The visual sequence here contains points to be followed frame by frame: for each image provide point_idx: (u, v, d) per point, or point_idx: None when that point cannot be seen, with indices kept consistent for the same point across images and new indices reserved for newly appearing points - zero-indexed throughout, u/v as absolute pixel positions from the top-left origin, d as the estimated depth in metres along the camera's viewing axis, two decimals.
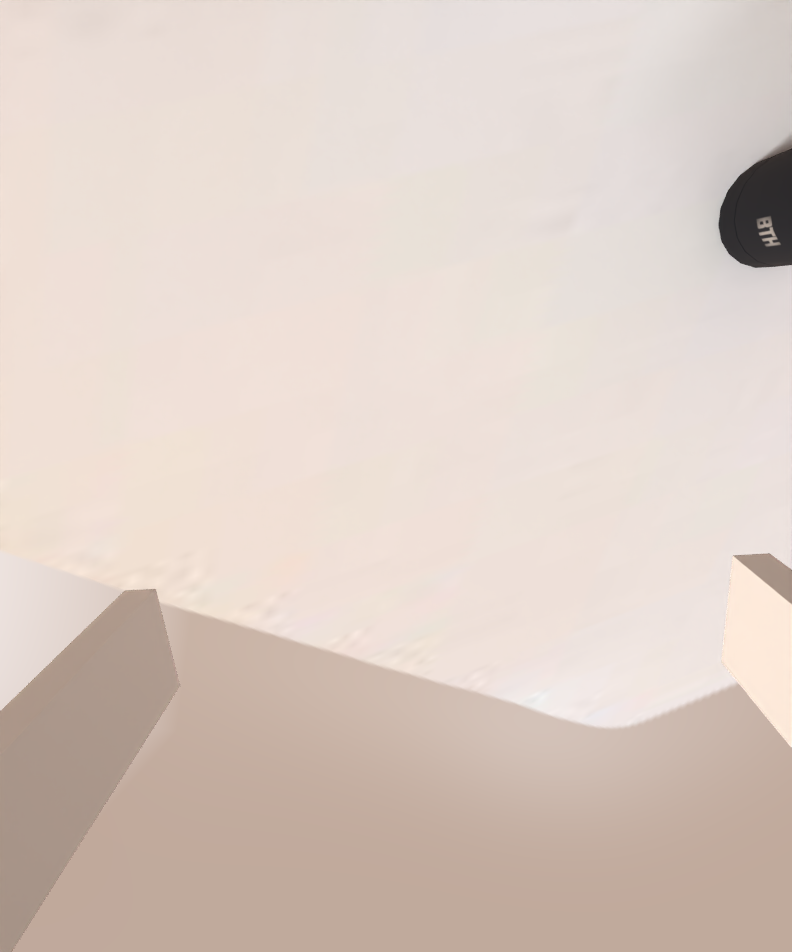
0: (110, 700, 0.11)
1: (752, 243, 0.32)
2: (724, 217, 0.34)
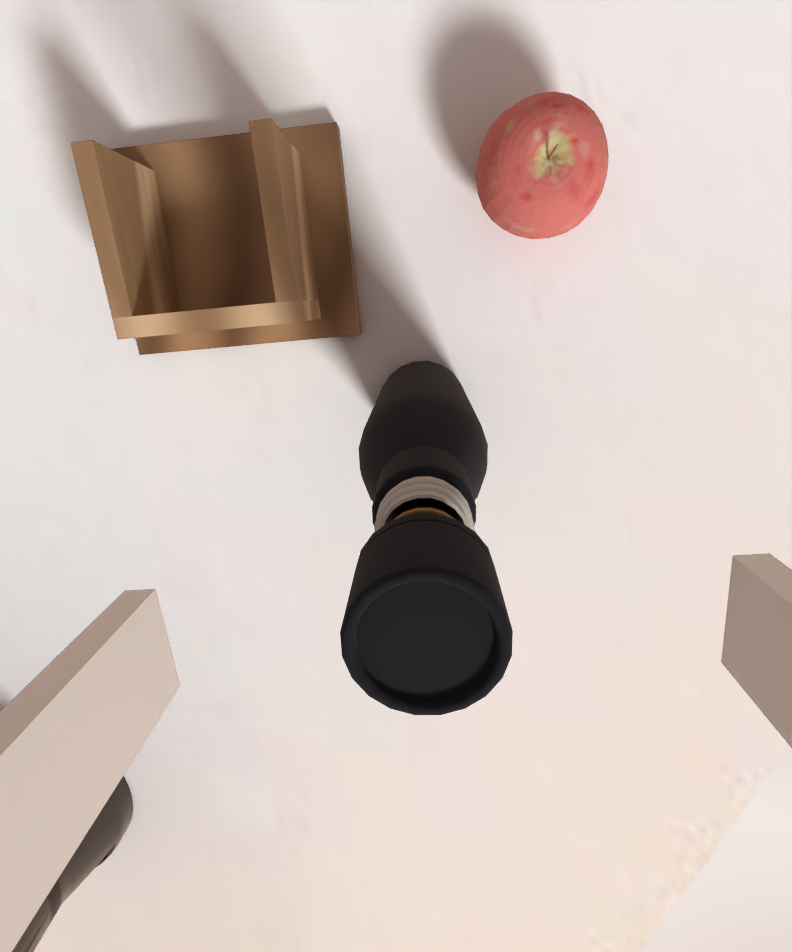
0: (110, 700, 0.11)
1: None
2: None
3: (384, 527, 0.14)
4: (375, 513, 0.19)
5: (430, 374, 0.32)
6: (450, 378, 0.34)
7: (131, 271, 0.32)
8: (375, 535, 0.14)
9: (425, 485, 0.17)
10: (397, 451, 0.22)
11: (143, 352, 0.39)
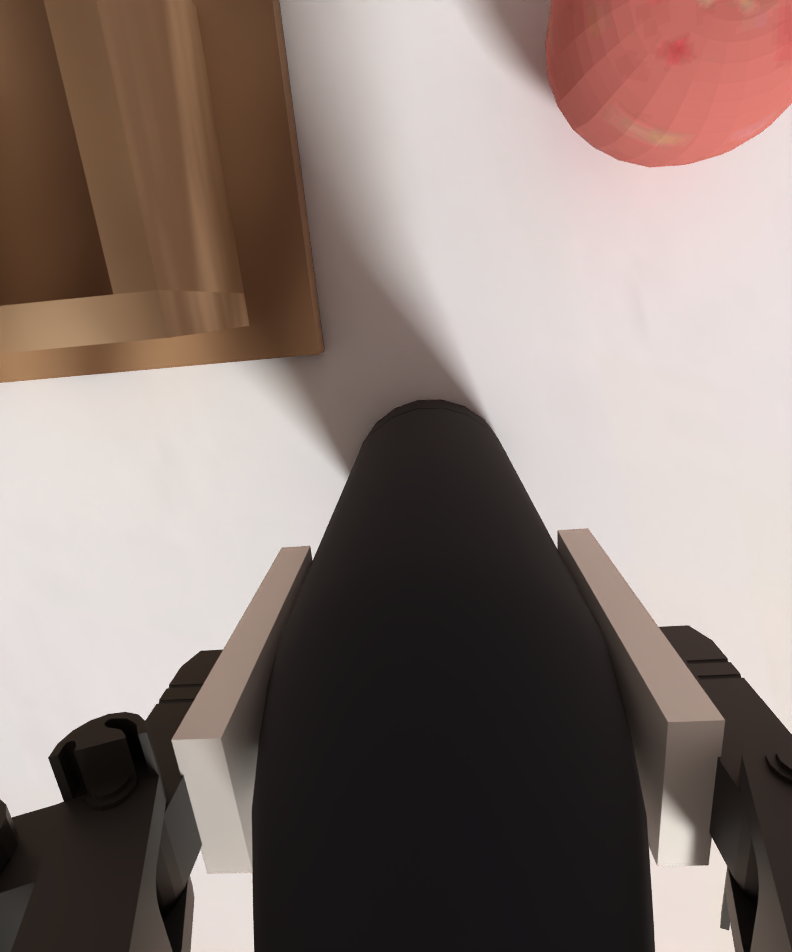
0: None
1: None
2: None
3: None
4: None
5: (451, 445, 0.15)
6: (488, 444, 0.18)
7: None
8: None
9: None
10: (338, 951, 0.05)
11: None
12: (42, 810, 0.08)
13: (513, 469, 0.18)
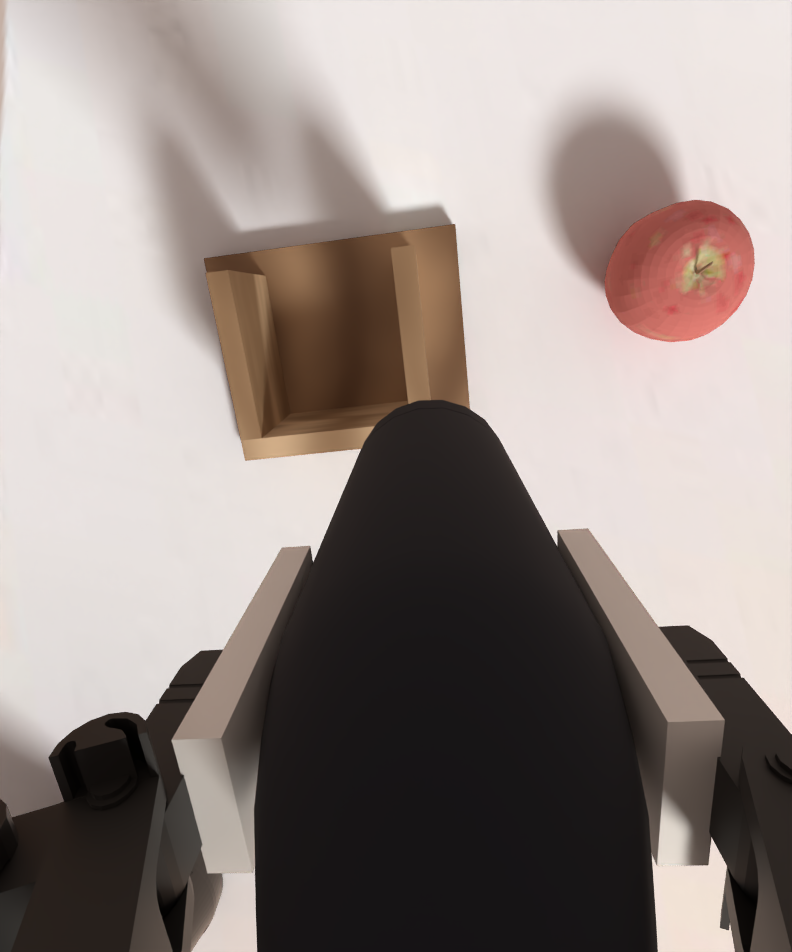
0: None
1: None
2: None
3: None
4: None
5: (452, 445, 0.15)
6: (489, 444, 0.18)
7: (258, 391, 0.31)
8: None
9: None
10: (342, 951, 0.05)
11: None
12: (42, 809, 0.08)
13: (514, 469, 0.18)
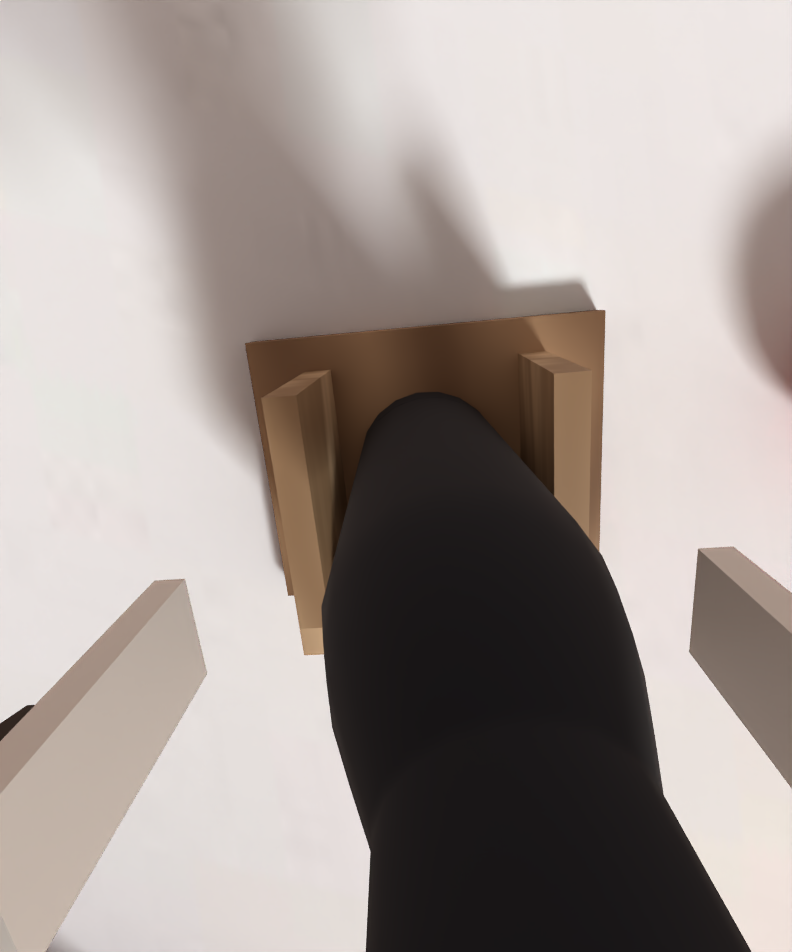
0: (146, 685, 0.11)
1: None
2: None
3: None
4: None
5: (457, 422, 0.18)
6: (486, 425, 0.20)
7: (326, 556, 0.21)
8: None
9: None
10: (434, 726, 0.07)
11: (293, 593, 0.28)
12: None
13: None
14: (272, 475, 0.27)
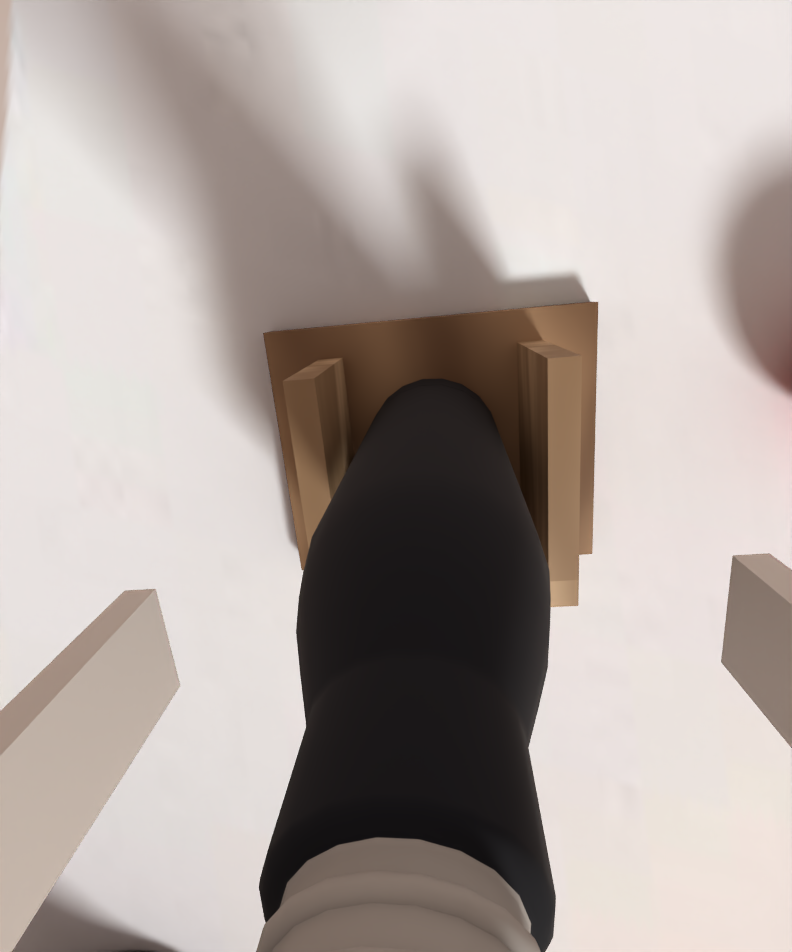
0: (110, 700, 0.11)
1: None
2: None
3: None
4: (265, 906, 0.07)
5: (443, 411, 0.19)
6: (476, 413, 0.22)
7: None
8: None
9: None
10: (350, 656, 0.09)
11: None
12: None
13: (497, 433, 0.22)
14: (287, 456, 0.28)
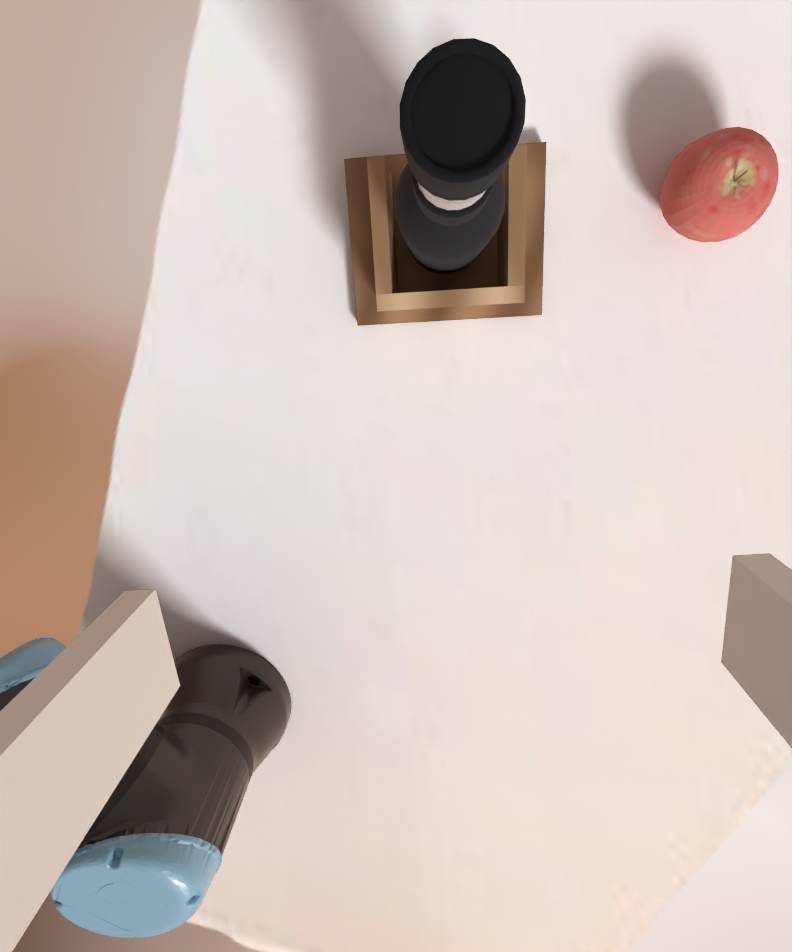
0: (110, 700, 0.11)
1: (469, 262, 0.43)
2: (446, 273, 0.45)
3: None
4: None
5: None
6: None
7: (391, 258, 0.40)
8: None
9: None
10: None
11: (361, 323, 0.48)
12: None
13: None
14: (353, 243, 0.46)
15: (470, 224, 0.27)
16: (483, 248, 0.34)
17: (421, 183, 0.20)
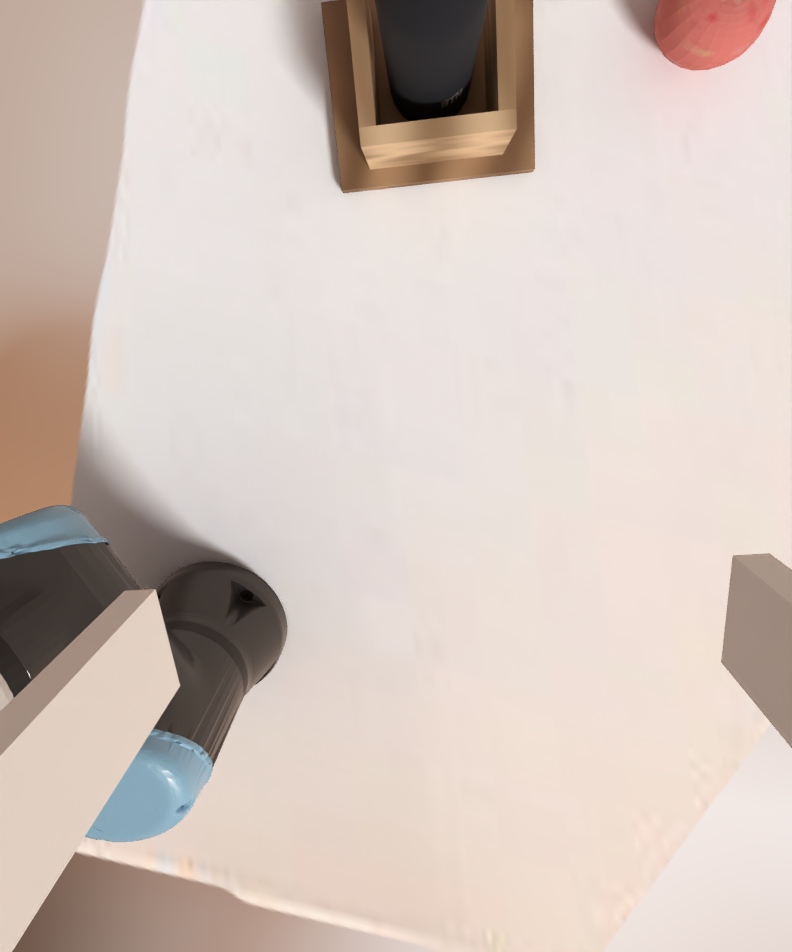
0: (110, 700, 0.11)
1: (456, 103, 0.40)
2: None
3: None
4: None
5: None
6: None
7: (373, 89, 0.38)
8: None
9: None
10: None
11: (345, 188, 0.45)
12: None
13: None
14: (334, 97, 0.43)
15: None
16: (470, 44, 0.32)
17: None
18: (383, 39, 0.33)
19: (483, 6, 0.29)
